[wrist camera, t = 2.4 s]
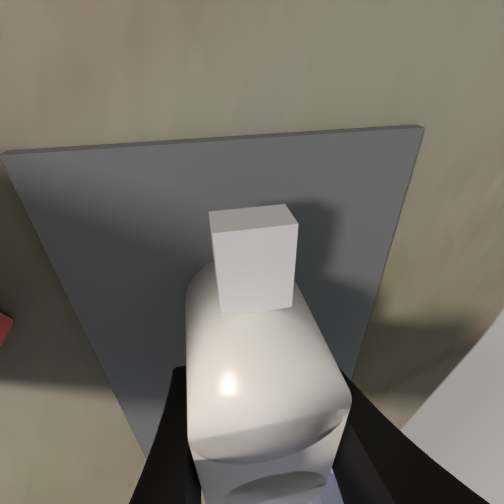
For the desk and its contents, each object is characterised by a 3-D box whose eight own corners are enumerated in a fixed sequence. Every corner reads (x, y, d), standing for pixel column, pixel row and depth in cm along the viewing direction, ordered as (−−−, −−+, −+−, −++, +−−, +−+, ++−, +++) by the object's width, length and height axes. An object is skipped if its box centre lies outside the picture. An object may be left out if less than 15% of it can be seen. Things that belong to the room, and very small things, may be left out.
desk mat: (337, 410, 18) (340, 417, 18) (147, 451, 16) (146, 459, 16) (415, 124, 9) (424, 127, 9) (6, 150, 7) (-2, 155, 7)
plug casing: (286, 395, 15) (319, 505, 11) (205, 411, 14) (214, 533, 11) (304, 174, 9) (394, 266, 5) (162, 187, 8) (148, 300, 4)
